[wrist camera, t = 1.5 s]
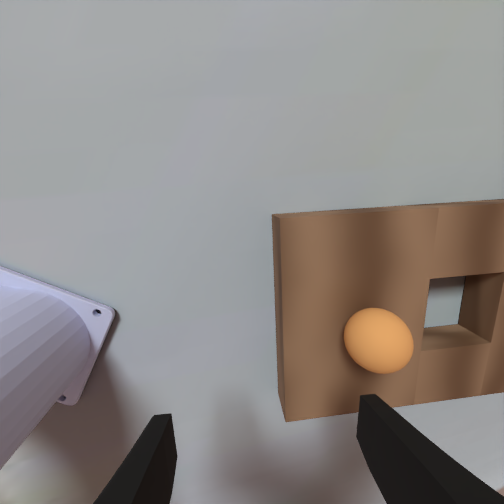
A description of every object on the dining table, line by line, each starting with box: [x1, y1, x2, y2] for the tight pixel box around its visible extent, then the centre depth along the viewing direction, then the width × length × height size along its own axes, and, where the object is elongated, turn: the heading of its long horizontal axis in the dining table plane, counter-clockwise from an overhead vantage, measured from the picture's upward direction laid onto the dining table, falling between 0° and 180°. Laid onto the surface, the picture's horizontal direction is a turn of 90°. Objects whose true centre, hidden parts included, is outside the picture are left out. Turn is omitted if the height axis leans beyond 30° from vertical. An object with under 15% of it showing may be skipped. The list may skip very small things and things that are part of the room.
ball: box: [344, 308, 414, 374], centre depth 14 cm, size 4×4×4 cm
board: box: [272, 199, 504, 422], centre depth 17 cm, size 17×14×2 cm
